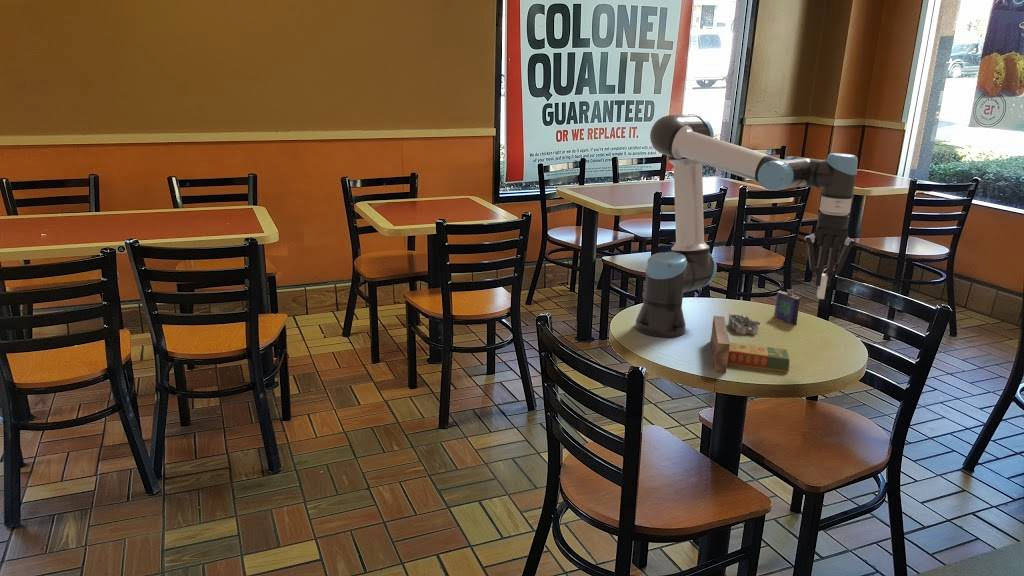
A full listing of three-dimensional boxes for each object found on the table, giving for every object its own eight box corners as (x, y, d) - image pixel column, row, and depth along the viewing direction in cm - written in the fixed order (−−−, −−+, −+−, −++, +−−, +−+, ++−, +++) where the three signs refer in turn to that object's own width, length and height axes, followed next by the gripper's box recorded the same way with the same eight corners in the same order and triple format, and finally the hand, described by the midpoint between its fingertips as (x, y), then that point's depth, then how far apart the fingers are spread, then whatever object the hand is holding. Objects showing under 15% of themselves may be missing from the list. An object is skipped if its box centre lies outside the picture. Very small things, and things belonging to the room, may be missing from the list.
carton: (726, 354, 210) (728, 340, 209) (785, 362, 206) (787, 348, 205) (726, 365, 202) (728, 350, 201) (788, 373, 198) (790, 358, 197)
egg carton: (759, 336, 226) (761, 323, 225) (735, 335, 226) (737, 322, 225) (749, 324, 236) (750, 312, 235) (725, 323, 236) (727, 311, 235)
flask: (771, 316, 244) (776, 285, 241) (778, 316, 245) (783, 285, 242) (792, 325, 236) (797, 293, 233) (799, 324, 237) (804, 293, 234)
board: (714, 371, 197) (718, 343, 194) (710, 341, 219) (713, 315, 217) (726, 372, 196) (729, 344, 194) (720, 342, 219) (724, 316, 216)
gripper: (810, 213, 193) (797, 299, 200) (863, 217, 191) (848, 303, 198) (805, 208, 200) (793, 291, 207) (856, 212, 198) (842, 296, 205)
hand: (820, 297), depth 202 cm, fingers closed
